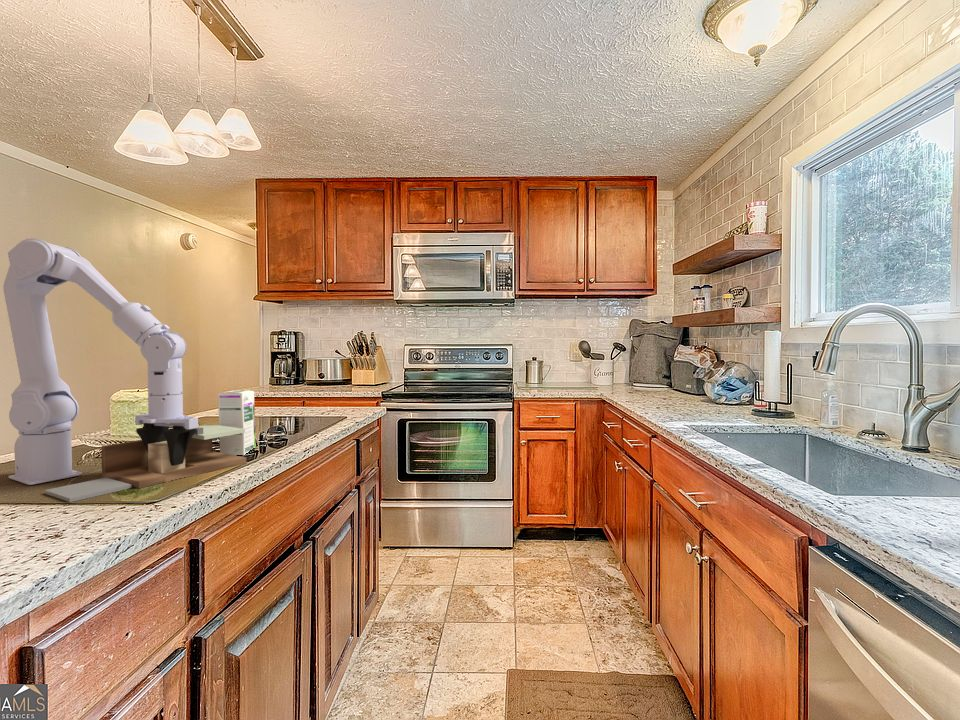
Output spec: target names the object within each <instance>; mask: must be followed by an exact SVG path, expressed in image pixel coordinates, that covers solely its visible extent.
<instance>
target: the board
mask: <svg viewBox="0 0 960 720" xmlns="http://www.w3.org/2000/svg"><path fill="white" fill-rule="evenodd" d="M165 441H166V439H165ZM100 447H101V451H100V452H101V478H109V479H113V480H117V481H121V482H124V483H128V484H132V487H133V488H137V489H142V488H146V487H151V486H156V485H159V483H160V484H164V483H168V482H172V481H171V480H173V481H176V480H175V479H177V480H180V479H179V478H181V479H184V477H185V478H189V477H192V476H193V477H194V476H198V475H202V474H206V473H210V472H213V471H218V470H223V469H227V468H230V467H231V468H232V467H236V466H240V465H244V464H247V457H246V456H236V455H230V454H225V453H220V451H219V452H218V451H213V438H212V439H206V440H202V439H196V438H191V440H190V442H189V444H188V447H187V450H186V454H185V468H182V469H178V470H173V471H169V472H164V473H160V474H157V473H153V472H149V471H148V453H147V450H146V447H145V445H144V443H143V441H142V439H138V440H132V441H126V442H120V443H119V442H118V443H112V444H107V445H102V446H100ZM163 482H164V483H163ZM155 484H156V485H155Z"/></svg>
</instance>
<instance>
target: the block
mask: <svg viewBox="0 0 960 720" xmlns="http://www.w3.org/2000/svg"><path fill="white" fill-rule="evenodd" d="M182 468H185V458H184V461H183V464H179V465H175V466H172V465H171V463H170V457H169V448H168V444H167V441H163V442H157V443H151V444H148V471H149V472H153V473H157V474H160V473H164V472H169V471H173V470H178V469H182Z"/></svg>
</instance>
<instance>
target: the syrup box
mask: <svg viewBox="0 0 960 720" xmlns="http://www.w3.org/2000/svg"><path fill="white" fill-rule="evenodd" d="M217 400H218V401H217V402H218V403H217V404H218V405H217V406H218V425H221V426H228V427H235V428H242V429H245V433H240V434H234V435H229V436H223V437H218V438H219V453H225V454H230V455H245V454H246V453H248V452H249V451H250V450H252V449H253V448H256V449H257V444H256V443H257V442H256V439H257V438H256V417H255V416H256V415H255V414H256V411H255V407H256V406H255V391H254V390H250V389H249V390H248V389H235V390H230V391H224V392H219V393H217ZM248 454H249V453H248ZM246 455H247V454H246ZM246 455H245V456H246Z"/></svg>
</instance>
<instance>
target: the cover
mask: <svg viewBox="0 0 960 720" xmlns="http://www.w3.org/2000/svg"><path fill="white" fill-rule="evenodd" d="M240 433H245V429H242V428H235V427H228V426H221V425H219V424H214V423H213V424H212V423H210V424H203V425H198V428H196V432H195V433H194V435H193V436H192V438H196V439H202V440H206V439H212V440H213V439H216V438H217V439H218V438H219V437H223V436H229V435H234V434H240Z"/></svg>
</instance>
